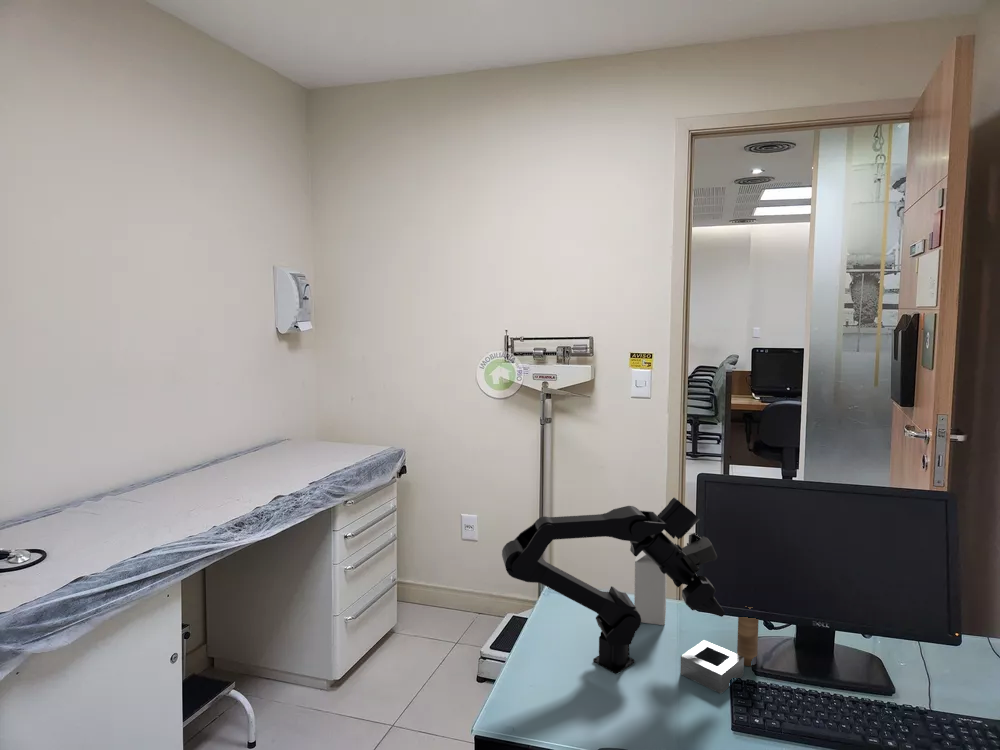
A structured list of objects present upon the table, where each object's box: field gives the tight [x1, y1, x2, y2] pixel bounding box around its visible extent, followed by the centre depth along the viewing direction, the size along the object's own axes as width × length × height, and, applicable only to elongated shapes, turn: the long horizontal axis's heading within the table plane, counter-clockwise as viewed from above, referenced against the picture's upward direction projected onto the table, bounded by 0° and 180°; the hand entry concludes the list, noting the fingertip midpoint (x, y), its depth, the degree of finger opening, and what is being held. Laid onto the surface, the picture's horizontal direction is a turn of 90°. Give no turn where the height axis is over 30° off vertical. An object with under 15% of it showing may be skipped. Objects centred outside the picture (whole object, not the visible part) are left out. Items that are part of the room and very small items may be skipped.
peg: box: [736, 606, 760, 667], centre depth 134 cm, size 4×4×13 cm
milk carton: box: [633, 551, 667, 626], centre depth 152 cm, size 7×7×19 cm
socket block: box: [679, 639, 745, 695], centre depth 129 cm, size 9×9×4 cm
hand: (716, 604), depth 133 cm, fingers open, 9 cm apart
